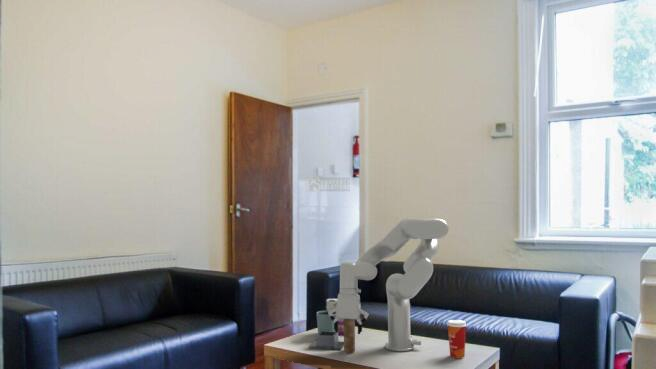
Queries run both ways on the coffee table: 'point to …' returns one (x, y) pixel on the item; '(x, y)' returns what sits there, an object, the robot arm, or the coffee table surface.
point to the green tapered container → (325, 321)
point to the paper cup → (457, 338)
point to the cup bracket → (327, 341)
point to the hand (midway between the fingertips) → (347, 332)
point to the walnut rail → (349, 336)
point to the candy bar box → (331, 305)
